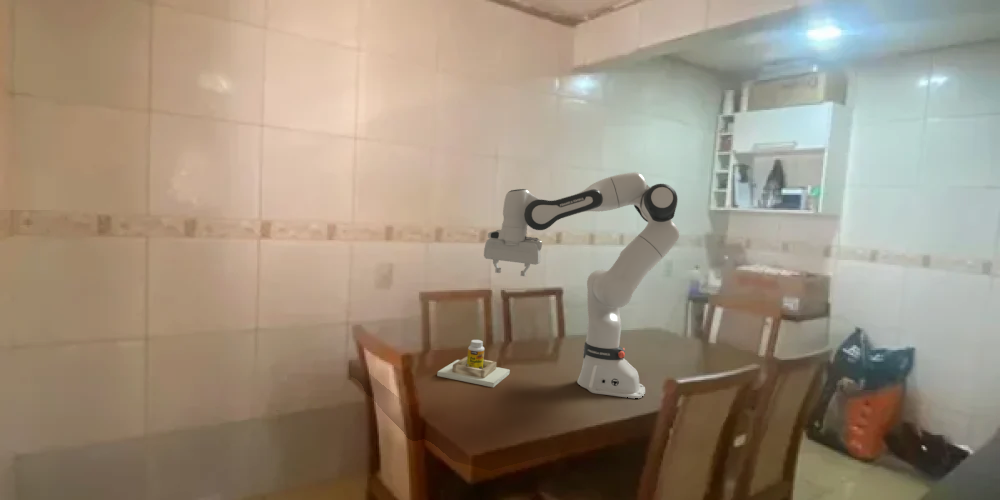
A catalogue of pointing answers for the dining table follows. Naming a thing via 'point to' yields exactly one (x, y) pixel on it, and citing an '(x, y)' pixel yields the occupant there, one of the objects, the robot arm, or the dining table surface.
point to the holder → (475, 373)
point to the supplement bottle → (475, 354)
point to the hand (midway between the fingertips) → (510, 274)
